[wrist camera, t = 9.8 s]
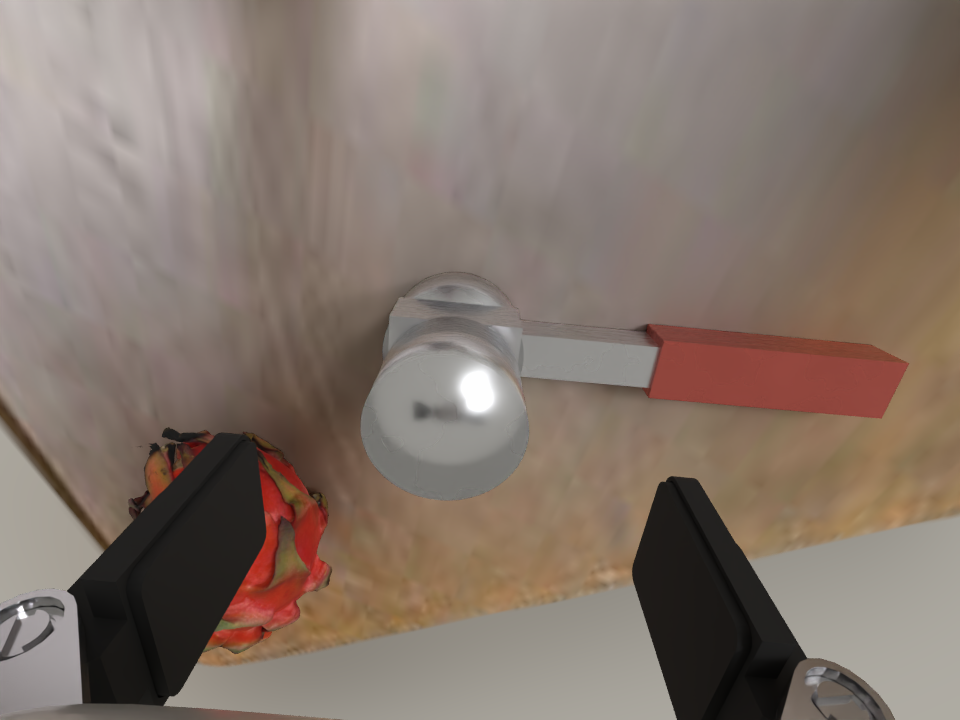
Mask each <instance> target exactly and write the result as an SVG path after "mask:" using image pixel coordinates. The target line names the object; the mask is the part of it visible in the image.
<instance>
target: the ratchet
mask: <svg viewBox="0 0 960 720" xmlns="http://www.w3.org/2000/svg"><path fill="white" fill-rule="evenodd" d="M405 298H416V299H426V300H437V301H447V302H458V303H468V304H479V305H489V306H500V307H510V308H513V306H512V304H511V302H510V301H509V299H508V298H507V297H506V295H505V294H504V293H503V292H502V291H501V290H500V289H499V288H498V287H496V286H495V285H494V284H492V283H491V282H489V281H488V280H486V279H484V278H481V277H479V276H476V275H473V274H469V273H463V272H447V273H441V274H437V275H434V276H431V277H429V278H426V279H425V280H423V281H421V282H419V283H418V284H417V285H415V286H414V287H413V288H412V289H411V290H410V291H409V292H408V293H407V294H406V295H405ZM521 323H522V327H523V331H522V338H521V345H520V352H519V359H518V367H519V371H520V376H521V377H532V378H543V379H554V380H565V381H577V382H588V383H599V384H610V385H621V386H632V387H642V389H643V390H644V392H645V393H646V394H647V396H648V397H649V398H656V399H668V400H679V401H690V402H702V403H713V404H724V405H735V406H747V407H758V408H769V409H781V410H792V411H803V412H814V413H826V414H837V415H848V416H860V417H871V418H882V416H883V414H884V412H885V410H886V408H887V406H888V404H889V403H890V401H891V399H892V397H893V395H894V393H895V391H896V389H897V387H898V385H899V383H900V381H901V379H902V377H903V375H904V373H905V371H906V369H907V367H908V365H909V363H907V362H905V361H903V360H901V359H899V358H897V357H895V356H893V355H891V354H889V353H887V352H885V351H882V350H880V349H878V348H876V347H874V346H872V345H866V344H855V343H844V342H834V341H823V340H813V339H802V338H792V337H781V336H770V335H760V334H749V333H739V332H728V331H718V330H707V329H696V328H686V327H675V326H665V325H654V324H648V325H647V329H646V332H643V331H632V330H621V329H611V328H600V327H589V326H579V325H568V324H558V323H547V322H536V321H526V320H521ZM388 350H389V325H388V328H387V330H386V333H385V336H384V341H383V349H382V353H383V363H384V360H385V358H386V356H387V354H388Z"/></svg>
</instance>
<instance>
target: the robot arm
mask: <svg viewBox="0 0 960 720" xmlns="http://www.w3.org/2000/svg"><path fill="white" fill-rule="evenodd" d="M266 533H267V531H266V521H265V513H264V504H263V496H262V487H261V479H260V471H259V462H258V454H257V447H256V444H255V443H254V442H250V440H249V438H248V436H246V435H241V434H231V433H218V434H217V435H216V436H215V437H214V438H213V439H212V440H211V441H210V442H209V443H208V444H207V445H206V446H205V447H204V448H203V450H202V451H201V452H200V453H199V454H198V455H197V456H196V457H195V458H194V459H193V460H192V461H191V462H190V463H189V464H188V465H187V466H186V467H185V469H184V470H183V471H182V472H181V473H180V474H179V475H178V476H177V477H176V478H175V479H174V480H173V481H172V482H171V483H170V484H169V485H168V487H167V488H166V489H165V490H164V491H162V492H161V493H160V494H159V495H158V496H157V497H156V498H155V499H154V500H153V501H152V502H151V503H150V504H149V505H148V506H147V507H146V508H145V509H144V510H143V511H142V513H141V514H140V515H139V516H138V517H137V518H136V519H135V520H134V521H133V522H132V523H131V524H130V525H129V526H128V527H127V528H126V529H125V530H124V531H123V533H122V534H121V535H120V536H119V537H118V538H117V539H116V540H115V541H114V542H113V543H112V544H111V545H110V546H109V547H108V548H107V549H106V550H105V551H104V553H103V554H102V555H101V556H100V557H99V558H98V559H97V560H96V561H95V562H94V563H93V564H92V565H91V566H90V567H89V568H88V569H87V570H86V572H85V573H84V574H83V575H82V576H81V577H80V578H79V579H78V580H77V581H76V582H75V583H74V584H73V585H72V586H71V587H70V588H69V589H68V590H67V591H65V590H59V589H42V590H36V591H32V592H29V593H25V594H21V595H18V596H16V597H14V598H12V599H9V600H7V601H5V602H3V603H1V604H0V720H340V719H326V718H315V717H302V716H291V715H279V714H265V713H254V712H242V711H230V710H217V709H201V708H186V707H170V706H164V704H165V702H166V701H167V699H168V697H169V696H175V695H176V694H178V693H179V692H180V690H181V689H182V687H183V686H184V684H185V682H186V680H187V679H188V677H189V675H190V673H191V671H192V670H193V668H194V666H195V665H196V663H197V661H198V659H199V658H200V656H201V654H202V652H203V651H204V649H205V647H206V645H207V644H208V642H209V640H210V638H211V637H212V635H213V633H214V631H215V630H216V628H217V626H218V624H219V623H220V621H221V619H222V617H223V616H224V614H225V612H226V610H227V609H228V607H229V605H230V603H231V602H232V600H233V598H234V596H235V595H236V593H237V591H238V589H239V587H240V586H241V584H242V582H243V580H244V579H245V577H246V575H247V573H248V572H249V570H250V568H251V566H252V565H253V563H254V561H255V559H256V558H257V556H258V554H259V552H260V551H261V549H262V547H263V545H264V542H265V539H266ZM632 576H633V581H634V585H635V588H636V591H637V594H638V597H639V601H640V604H641V607H642V610H643V613H644V616H645V619H646V623H647V626H648V629H649V632H650V635H651V638H652V642H653V645H654V648H655V651H656V654H657V658H658V661H659V664H660V667H661V670H662V673H663V677H664V680H665V683H666V686H667V689H668V692H669V696H670V699H671V702H672V705H673V708H674V711H675V715H676V718H677V720H895V718H894V716H893V714H892V712H891V711H890V709H889V707H888V706H887V705H886V703H885V702H884V701H883V699H882V698H881V697H880V696H879V694H877V692H876V691H874V690H873V689H872V688H871V687H870V686H869V685H868V684H867V683H866V682H865V681H864V680H862V679H861V678H860V677H858V676H857V675H855V674H854V673H853V672H851V671H850V670H848V669H846V668H844V667H842V666H840V665H838V664H836V663H834V662H831V661H827V660H824V659H820V658H818V659H817V658H815V659H814V658H808V659H807V657H806V656H805V654H804V652H803V651H802V649H801V647H800V646H799V644H798V642H797V641H796V639H795V638H794V636H793V634H792V632H791V631H790V629H789V627H788V626H787V624H786V623H785V621H784V619H783V618H782V616H781V614H780V613H779V611H778V610H777V608H776V606H775V604H774V603H773V601H772V599H771V598H770V596H769V595H768V593H767V591H766V589H765V588H764V586H763V584H762V583H761V581H760V580H759V578H758V576H757V575H756V573H755V571H754V570H753V568H752V566H751V565H750V563H749V561H748V560H747V558H746V556H745V555H744V553H743V551H742V550H741V549H740V547H739V546H738V545H737V544H736V543H735V541H734V539H733V538H732V536H731V534H730V533H729V531H728V530H727V528H726V526H725V525H724V523H723V521H722V520H721V518H720V516H719V515H718V513H717V511H716V510H715V508H714V506H713V505H712V503H711V501H710V500H709V498H708V496H707V495H706V493H705V491H704V490H703V488H702V486H701V485H700V483H699V482H698V480H696V479H694V478H684V477H674V476H671V477H669V478H668V479H667V480H666V482H660V484H659V485H658V488H657V491H656V494H655V497H654V501H653V504H652V507H651V510H650V513H649V516H648V519H647V522H646V526H645V529H644V532H643V535H642V538H641V541H640V544H639V547H638V551H637V554H636V557H635V560H634V563H633V568H632Z"/></svg>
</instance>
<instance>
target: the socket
mask: <svg viewBox="0 0 960 720" xmlns="http://www.w3.org/2000/svg"><path fill="white" fill-rule="evenodd" d="M522 331H523V327H522V323H521V319H520V314H519V310H518V308H510V307H500V306H489V305H479V304H468V303H458V302H447V301H437V300H426V299H416V298H405V297H399V299H398V301H397V303H396V305H395V306H394V308H393V310H392V312H391V314H390V315H389V350H388V354H387V356H386V358H385V360H384V363H383V365H382V367H381V369H380V371H379V373H378V376H377V378H376V380H375V382H374V384H373V386H372V389H371V391H370V393H369V395H368V397H367V400H366V402H365V404H364V407H363V411H362V415H361V437H362V441H363V445H364V448H365V450H366V453H367V455H368V457H369V458H370V460H371V462H372V463H373V465H374V466H375V467H376V469H377V470H378V471H379V472H380V473H381V474H382V475H383V476H384V477H385V478H386V479H387V480H389V481H390V482H391V483H393V484H394V485H396V486H397V487H399V488H401V489H403V490H405V491H407V492H409V493H411V494H414V495H417V496H420V497H424V498H428V499H435V500H461V499H466V498H471V497H474V496H477V495H480V494H483V493H485V492H487V491H490V490H491V489H493V488H495V487H496V486H498V485H499V484H501V483H502V482H503V481H505V480H506V479H507V478H508V477H509V476H510V475H511V474H512V473H513V472H514V470H515V469H516V468H517V467H518V465H519V463H520V462H521V460H522V458H523V456H524V453H525V451H526V448H527V444H528V438H529V422H528V416H527V410H526V405H525V399H524V394H523V388H522V382H521V377H520V371H519V367H518V359H519V352H520V345H521V338H522Z"/></svg>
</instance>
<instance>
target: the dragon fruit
mask: <svg viewBox="0 0 960 720" xmlns="http://www.w3.org/2000/svg"><path fill="white" fill-rule="evenodd" d="M243 433H244V435H246V436H248V438H249V440H250V442H254V443H255V444H256V447H257V454H258V462H259V471H260V479H261V487H262V496H263V504H264V513H265V521H266V531H267V533H266V539H265V542H264V545H263V547H262V549H261V551H260V552H259V554H258V556H257V558H256V559H255V561H254V563H253V565H252V566H251V568H250V570H249V572H248V573H247V575H246V577H245V579H244V580H243V582H242V584H241V586H240V587H239V589H238V591H237V593H236V595H235V596H234V598H233V600H232V602H231V603H230V605H229V607H228V609H227V610H226V612H225V614H224V616H223V617H222V619H221V621H220V623H219V624H218V626H217V628H216V630H215V631H214V633H213V635H212V637H211V638H210V640H209V642H208V644H207V645H206V647H205V649H204V651H203V652H207V651H209V650H211V649H214V648H217V647H223V648H226V649H228V650H229V651H231V652H232V653H234V654H238V653H240V652H242V651H245V650H247V649H248V648H250V647H252V646H253V645H255V644H257V643H259V642H262V641H264V640H266V639H267V638H269V637H270V635H271V633H272V631H275V630H278V629H281V628H283V627H285V626H287V625H289V624H291V623H293V622H295V621H296V620H297V619H298V618H299V617H300V609H299V607H298V606H297V603H296V600H297V599H299V598H300V597H301V596H302V595H303V594H304V593H306V592H309V591H318V590H319V589H321V588H324V587H326V586H328V585H329V581H330V575H331V572H332V568H331V567H330V566H329V565H328V564H326V563H325V562H323V561H321V560H320V559H319V557H318V555H317V553H316V552H317V548H318V545H319V541H320V539H321V536H322V534H323V532H324V529H325V528H326V526H327V523H328V516H329V515H328V504H327V500H326V498H325V496H324V495H323V494H322V493H316V494H313V495H311V496H309V494H308V491H307V489H306V488H305V486H304V485H303V483H302V482H301V480H300V479H299V477H298V476H297V475H296V474H295V470H294V468H293V466H292V465H291V464H290V463H289V462H287V461H286V460H285V459H284V458H283V457H284V454H283V452H281V451H280V450H278V449H276V448H275V447H273V446H272V445H271V444H269V443H268V442H266V441H264V440H263V439H260V438H259V437H257V436H256V435H255V434H253V433H247V432H243ZM162 437H167V438H168V439H171V440H176V441H178V442H183V443H181V444H177V449H176V455H177V459H178V460H177V461H176V462H175V464H174V456H175V447H176V445H175V443H173V442H171V443H168V444H166V445H165V446H162V447H161V448H160V447H159V446H158V445H157V443H154V444H151V445H152V446H150V447H151V448H152V450H150V453H149V455H150V456H149V458H148V460H147V463H146V465H145V467H144V471H145V481H146V486H147V489H148V490H147V491H146V492H145V494H144V495H143V496H142V497H138V498H135V499H134V500H133V498H131V499H129V513H130V515H131V516H132V518H133V519H134V520H135V519H136V518H137V517H138V516H139V515H140V512H141V509H142V508H143V507H144V508H146V507H147V506H148V505H149V504H150V503H151V502H152V501H153V500H154V499H155V498H156V497H157V496H158V495H159V494H160V493H161V492H162V491H164V490H165V489H166V488H167V487H168V485H169V484H170V483H171V482H172V481H173V480H174V479H175V478H176V477H177V476H178V475H179V474H180V473H181V472H182V471H183V470H184V469H185V467H186V466H187V465H188V464H189V463H190V462H191V461H192V460H193V459H194V458H195V457H196V456H197V455H198V454H199V453H200V452H201V451H202V450H203V448H204V447H205V446H206V445H207V444H208V443H209V442H210V441H211V440H212V439H213V438H214V437H215V436H213V435H211V434H210V433H209V432H208V431H206V430H204V431H201V432H199V433H182V434H180V433H178V432H177V431H175V430H173V429H170V428H166V429H165V430H164V432H163V434H162ZM139 447H141V446H139Z"/></svg>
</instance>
